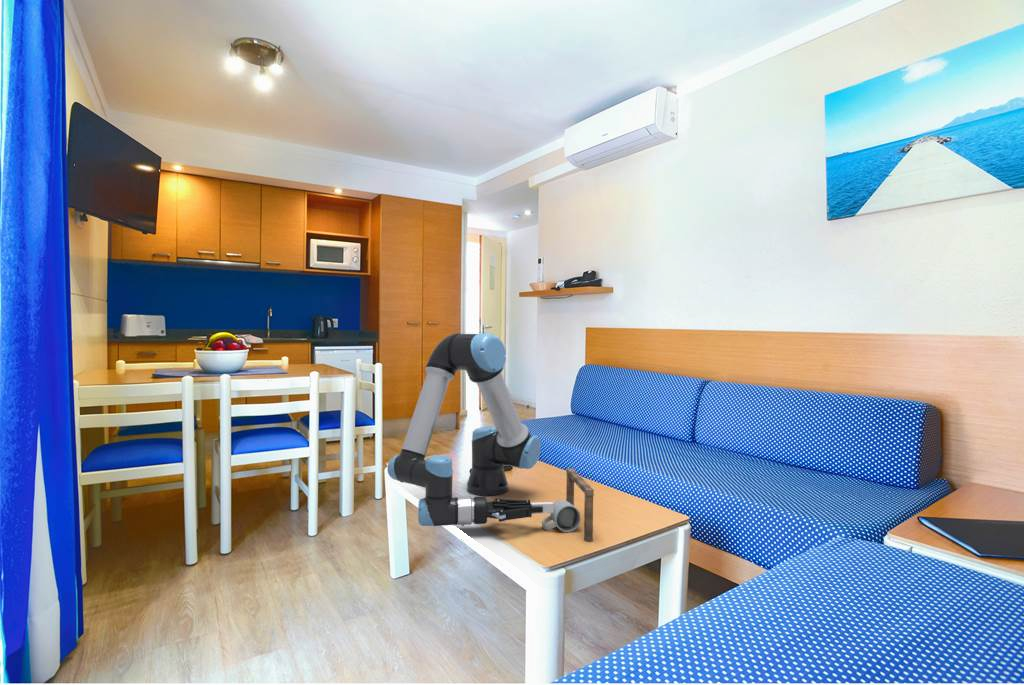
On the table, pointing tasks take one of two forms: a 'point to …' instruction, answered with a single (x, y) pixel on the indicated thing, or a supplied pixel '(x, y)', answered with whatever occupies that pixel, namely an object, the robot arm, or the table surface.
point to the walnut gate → (588, 504)
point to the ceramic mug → (563, 517)
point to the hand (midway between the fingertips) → (552, 507)
